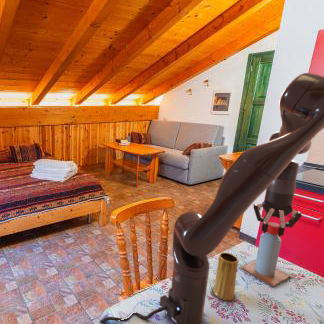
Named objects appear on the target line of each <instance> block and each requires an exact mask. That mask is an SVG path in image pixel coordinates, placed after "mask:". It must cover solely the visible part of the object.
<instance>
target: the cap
mask: <svg viewBox="0 0 324 324" xmlns="http://www.w3.org/2000/svg"><path fill="white" fill-rule="evenodd" d="M267 224H268V225H267V231H266V232H267V233H269V234H272V235H278V234H279V229H280V223H276V222H273V221H268V222H267Z"/></svg>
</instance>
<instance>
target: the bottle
mask: <svg viewBox="0 0 324 324" xmlns="http://www.w3.org/2000/svg"><path fill="white" fill-rule="evenodd" d="M281 245H282V238H281V237H279V236H278V235H272V234H269V233H267V232H266V233H264V232H263V233H261V234H260V237H259V243H258V249H257V254H256V259H255V261H256V264H255V270H256V271H257V272H258V273H260V274H262V275H265V276H274V274H275V270H276V269H277V266H278V265H277V264H278V259H279V255H280V251H281Z"/></svg>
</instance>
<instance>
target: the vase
mask: <svg viewBox="0 0 324 324" xmlns="http://www.w3.org/2000/svg"><path fill="white" fill-rule="evenodd" d="M238 264H239V258H238V257H237V256H236V255H235V254H232V253H230V252H221V253H219V255H218V262H217V269H216V274H215V281H214V287H213V288H212V291H213V294H214V295H215V296H216V297H217V298H219V299H221V300H223V301H233V300H234V298H235V291H236V282H237V273H238Z"/></svg>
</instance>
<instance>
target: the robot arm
mask: <svg viewBox="0 0 324 324" xmlns="http://www.w3.org/2000/svg"><path fill="white" fill-rule="evenodd" d="M278 108H279V114H280V121H281V126H280V129H279V131H276V132H274V133H272V134H271V135H270V137H269V140H268V141H267V142H264V143H261V144H258V145H255V146H252V147H249V148H247V149H246V150H244V151H242V152H241V153H240V154H239V155H238V156H237V158H235V160H234V161H233V162H232V163H231V164H230V166H229V167H228V168H227V169H226V171H224V172H225V173H224V174H223V176H222V178H221V180H220V183H219V185H218V189H217V191H216V194H215V197H214V199H213V201H212V203H211V204H210V205H209V208H207V210H205V212H204V213H203V215H202V214H200V213H198V212H194V211H188V212H184V213H182V214H180V215H179V216H178V217H177V219H176V220H175V222H174V226H173V233H172V235H173V236H172V256H173V257H172V258H173V265H172V276H171V288H169V289H168V295H166V294H163V295H162V296H160V297H159V306H160V307H159V308H157V309H154V310H153V311H151V312H149V313H148V314H147V315H143V314H141V313H139V312H137V311H135V312H136V313H133V314H132V315H131V316H130V317H129V318H127V319H124V320H121V319H122V318H123V317H116V316H106V317H104V318H102V319H101V320H100V321H99V323H100V324H104V323H105V322H108V321H115V322H127V321H129V320H130V319H131V318H132V317H134V316H137V317H138V318H140V319H143V320H149V319H151V318H152V317H153V316H154V315H156V314H158V313H161V312H164V311H165V312H166V316H167V317H168V318H169V319H170V320H171V321H172V322H173V323H174V324H203V323H204V313H205V312H204V311H205V305H206V297H207V288H208V281H209V275H210V274H209V273H210V262H209V258H208V255H209V254H211V253H213V252H214V251H215V250H216V249H217V248H218V246H219V245H221V243H222V241H224V239H225V238H226V236H227V234H228V233H229V232H230V230H231V229H232V228H233V226H234V225H235V224H236V222H237V221H238V220H239V219H240V218H241V217H242V216H243V214H244V213H246V211H247V210H248V209H249V208H250V207H251V205H252V204H253V206H252V207H253V211H254V214H255V217H256V220H257V221H258V222H261V232H263V233H266V231H267V225H268V224H267V223H268V222H269V220H270V219H271V217H272V218H273V217H275V218H277V219H279V222H280V223H279V225H280V229H279V234H278V236H279V237H280V238H281V237H282V236H284V234H285V229H286V228H290V229H291V228H293V227H294V226H295V224H296V223H298V221H299V220H300V219H301V218H302V212H301V211H299V210H296V209H293V202H294V197H295V192H296V188H297V177H298V173H299V168H300V165H299V163H298V162H297V161H295V160H294V159H295V157H296V156H298V155H303V154H306V153H307V152H309V150H310V149H311V147H312V140H313V139H314V138H315V137H317V136H318V135H319V133H321V131H323V130H324V76H323V75H320V74H316V73H313V72H303V73H301V74H299V75H297V76H296V77H295V78H294V79H293V80H292V81H291V82H289V84H288V85H287V86H286V88H285V89H284V91H283V92H282V93H281V95H280V98H279V103H278ZM264 192H265V194H264V200H263V202H262V203H254V202H255V201H256V200H257V199H258V198H259V197H260V196H261V195H262V194H263V193H264ZM262 208H263V210H264V212H265V214H264V216H263V217H262V215H261V212H260V211H261V210H262ZM290 214H291V217H290V219H289V220H288V221H286V218H285V217H287V216H289V215H290ZM131 313H132V312H130V313H129V314H128V315H127V316H126V317H128V316H129V315H130V314H131ZM118 320H120V321H118Z"/></svg>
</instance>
